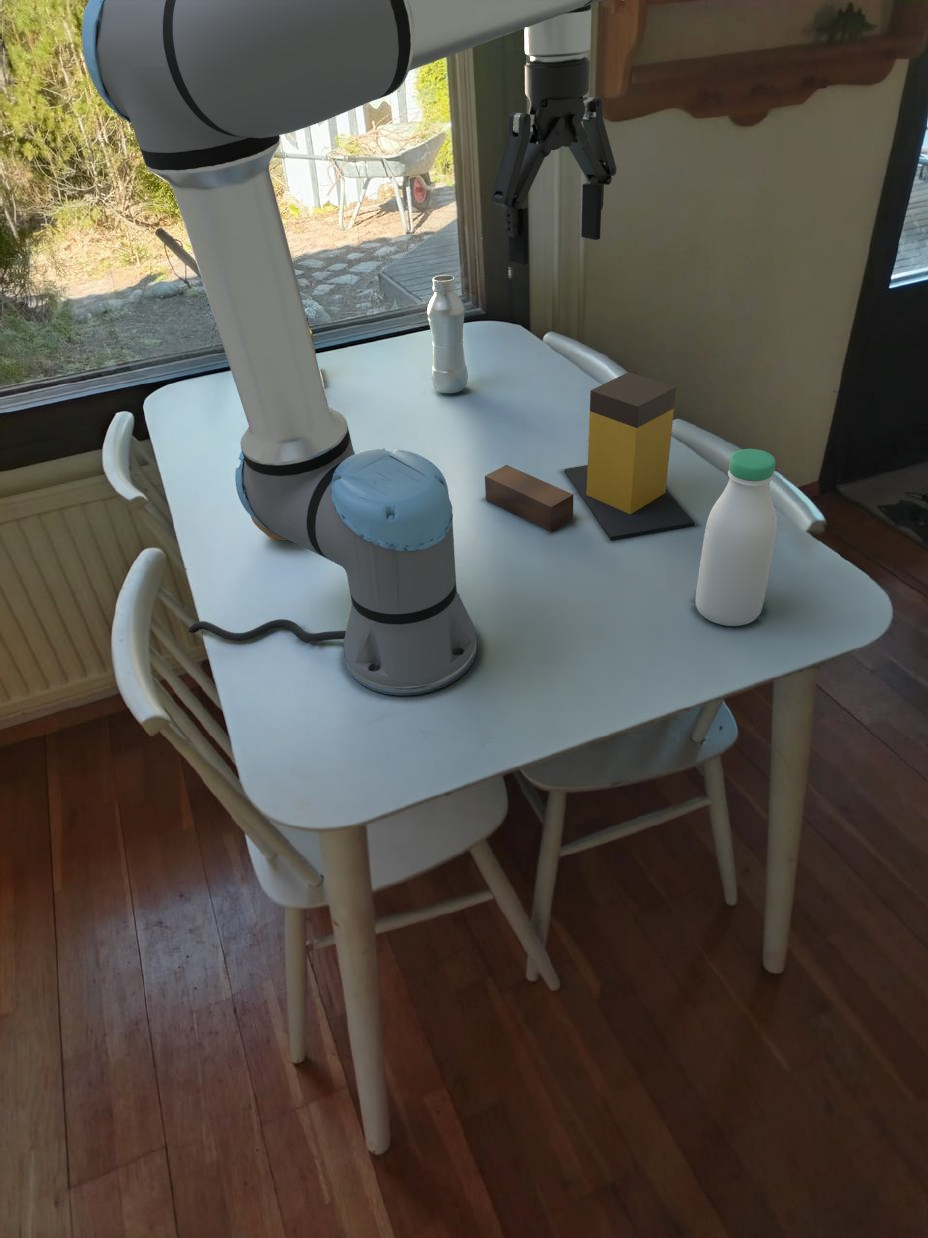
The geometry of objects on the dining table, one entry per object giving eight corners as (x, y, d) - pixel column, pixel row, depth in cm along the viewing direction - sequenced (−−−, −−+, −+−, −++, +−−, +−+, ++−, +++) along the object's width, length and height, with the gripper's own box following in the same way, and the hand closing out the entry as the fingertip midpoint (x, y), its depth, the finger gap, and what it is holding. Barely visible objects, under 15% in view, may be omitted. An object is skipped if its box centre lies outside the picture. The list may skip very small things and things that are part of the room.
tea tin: (621, 474, 127) (665, 492, 122) (586, 495, 123) (630, 514, 118) (628, 371, 117) (676, 386, 112) (590, 390, 113) (638, 406, 108)
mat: (610, 540, 115) (610, 536, 114) (564, 472, 130) (564, 468, 130) (694, 525, 116) (694, 522, 116) (638, 459, 132) (638, 456, 131)
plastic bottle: (428, 386, 158) (419, 275, 146) (463, 380, 160) (456, 270, 147) (437, 400, 153) (429, 286, 141) (473, 393, 155) (467, 280, 142)
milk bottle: (763, 630, 98) (795, 476, 86) (694, 625, 100) (716, 473, 87) (759, 591, 104) (788, 441, 92) (694, 586, 105) (714, 439, 93)
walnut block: (485, 500, 125) (484, 475, 122) (507, 488, 127) (506, 464, 125) (551, 532, 117) (551, 507, 115) (573, 519, 119) (573, 494, 117)
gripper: (604, 43, 107) (597, 224, 120) (455, 69, 95) (466, 267, 108) (651, 45, 102) (639, 232, 116) (501, 72, 90) (507, 278, 103)
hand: (555, 249), depth 112 cm, fingers open, 13 cm apart
